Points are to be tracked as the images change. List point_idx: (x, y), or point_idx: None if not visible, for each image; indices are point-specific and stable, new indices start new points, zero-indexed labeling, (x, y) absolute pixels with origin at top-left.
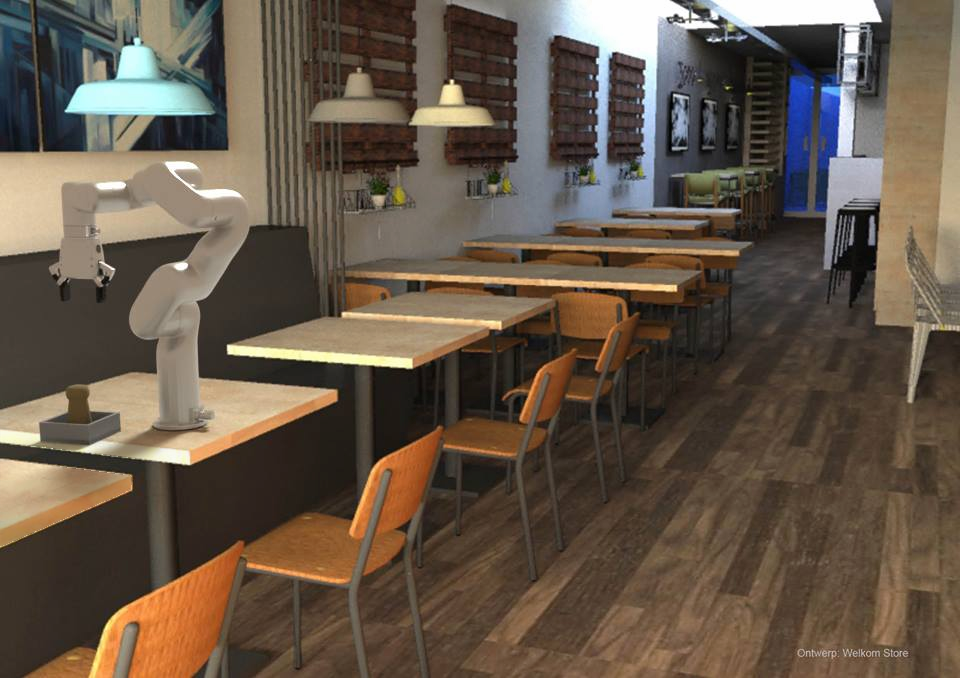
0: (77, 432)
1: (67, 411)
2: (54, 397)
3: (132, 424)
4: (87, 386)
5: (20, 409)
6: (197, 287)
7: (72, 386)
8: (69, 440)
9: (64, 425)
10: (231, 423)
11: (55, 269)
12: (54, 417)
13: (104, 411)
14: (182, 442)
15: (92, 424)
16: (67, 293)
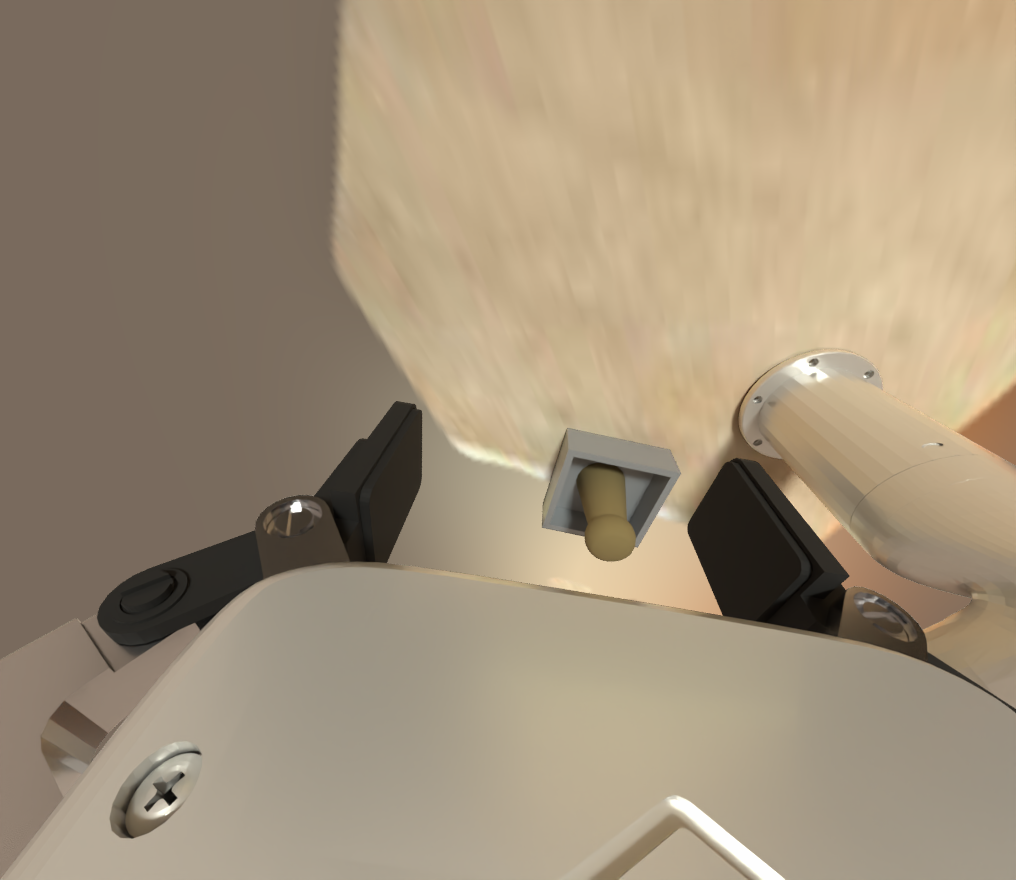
0: None
1: (564, 463)
2: (351, 60)
3: (687, 402)
4: (632, 539)
5: (359, 260)
6: None
7: (604, 556)
8: None
9: None
10: (936, 396)
11: (83, 756)
12: (556, 501)
13: (645, 466)
14: None
15: (642, 538)
16: (404, 476)
